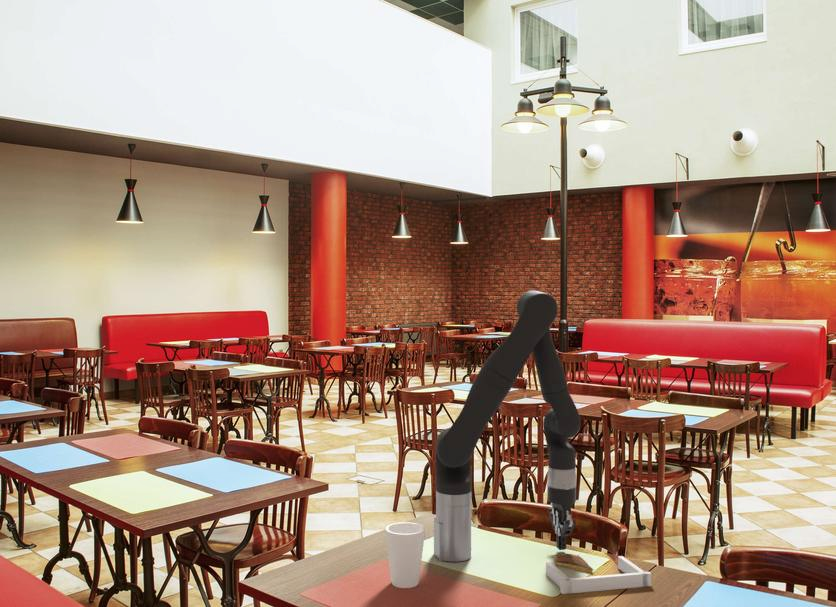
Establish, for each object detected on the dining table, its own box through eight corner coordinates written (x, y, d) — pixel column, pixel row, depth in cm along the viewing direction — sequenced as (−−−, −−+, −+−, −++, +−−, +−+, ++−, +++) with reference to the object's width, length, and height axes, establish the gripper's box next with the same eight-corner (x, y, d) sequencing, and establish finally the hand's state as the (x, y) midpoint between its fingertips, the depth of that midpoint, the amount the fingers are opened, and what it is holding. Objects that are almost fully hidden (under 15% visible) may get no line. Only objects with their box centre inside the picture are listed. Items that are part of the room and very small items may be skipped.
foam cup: (430, 578, 179) (430, 524, 179) (417, 592, 170) (417, 536, 170) (393, 573, 182) (393, 520, 182) (379, 587, 173) (379, 532, 173)
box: (562, 594, 170) (562, 581, 170) (542, 574, 181) (542, 562, 181) (651, 586, 174) (651, 573, 174) (625, 567, 186) (625, 555, 186)
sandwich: (593, 575, 182) (593, 568, 182) (563, 577, 181) (563, 569, 181) (578, 559, 193) (578, 552, 193) (549, 561, 192) (549, 554, 192)
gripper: (539, 478, 203) (538, 541, 203) (558, 491, 190) (558, 558, 190) (564, 477, 205) (564, 540, 205) (585, 489, 192) (585, 556, 192)
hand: (561, 548), depth 198 cm, fingers closed
